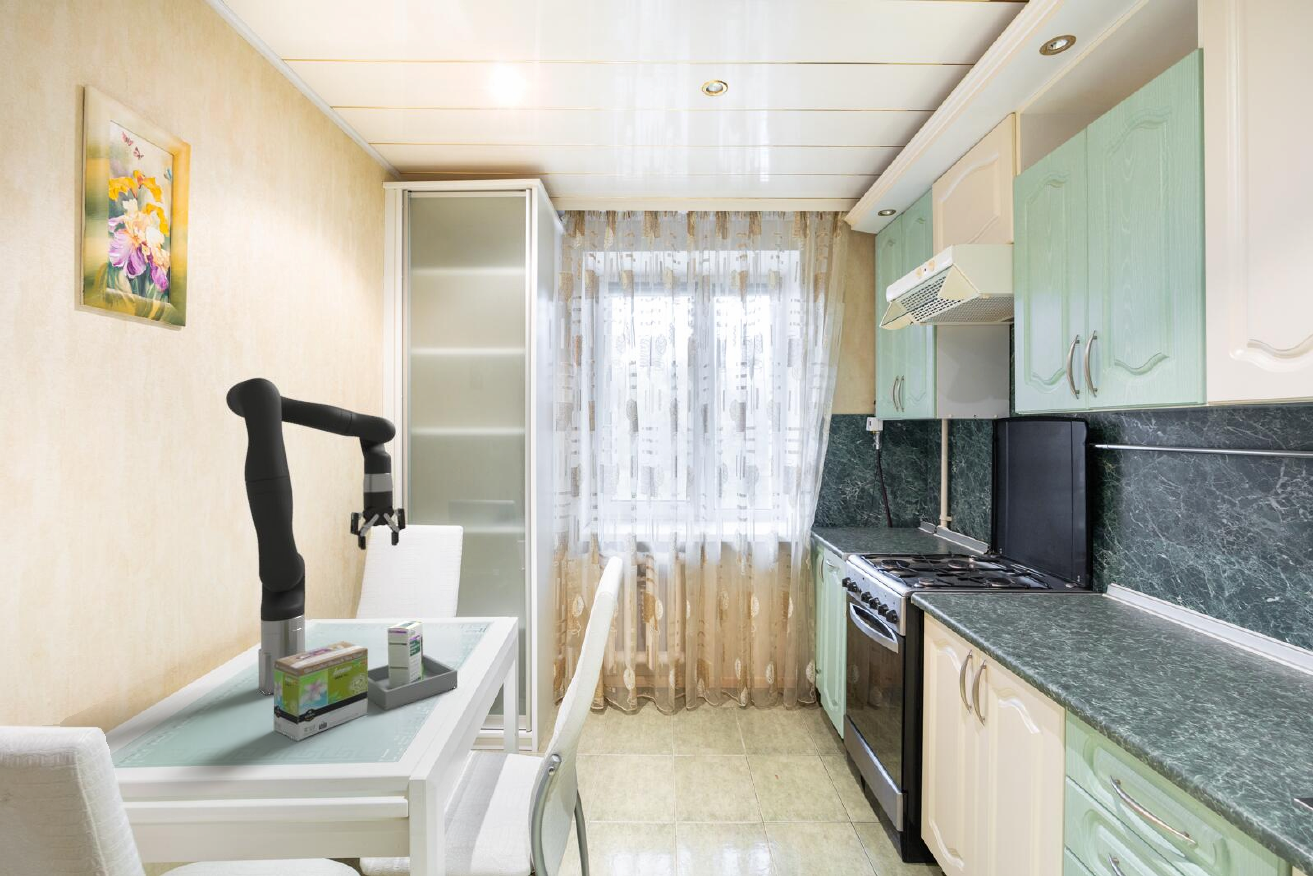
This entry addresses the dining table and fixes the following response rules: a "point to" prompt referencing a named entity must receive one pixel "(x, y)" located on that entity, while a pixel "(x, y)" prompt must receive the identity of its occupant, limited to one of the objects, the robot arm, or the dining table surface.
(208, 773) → the dining table surface
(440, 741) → the dining table surface
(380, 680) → the tray
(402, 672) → the syrup box
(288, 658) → the tea box
